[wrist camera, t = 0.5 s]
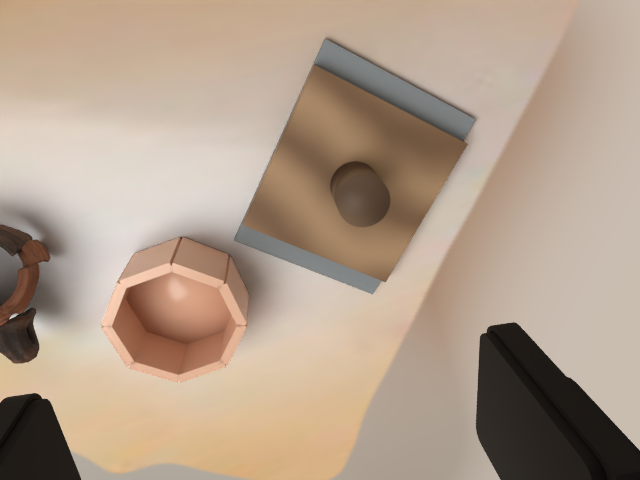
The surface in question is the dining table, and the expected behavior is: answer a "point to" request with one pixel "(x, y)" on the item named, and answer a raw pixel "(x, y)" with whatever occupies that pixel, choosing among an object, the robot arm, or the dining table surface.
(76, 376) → the dining table surface
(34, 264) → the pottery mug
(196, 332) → the bowl
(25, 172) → the dining table surface
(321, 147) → the lid
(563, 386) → the robot arm
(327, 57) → the mat
